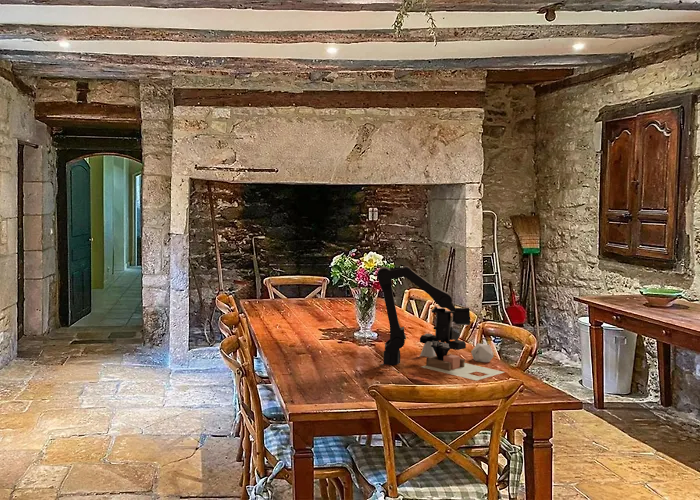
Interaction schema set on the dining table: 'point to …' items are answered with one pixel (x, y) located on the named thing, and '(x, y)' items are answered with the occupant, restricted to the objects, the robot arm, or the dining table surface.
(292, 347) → the dining table surface
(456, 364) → the block
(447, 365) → the cubby
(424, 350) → the flask
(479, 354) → the die
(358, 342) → the dining table surface
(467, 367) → the board
